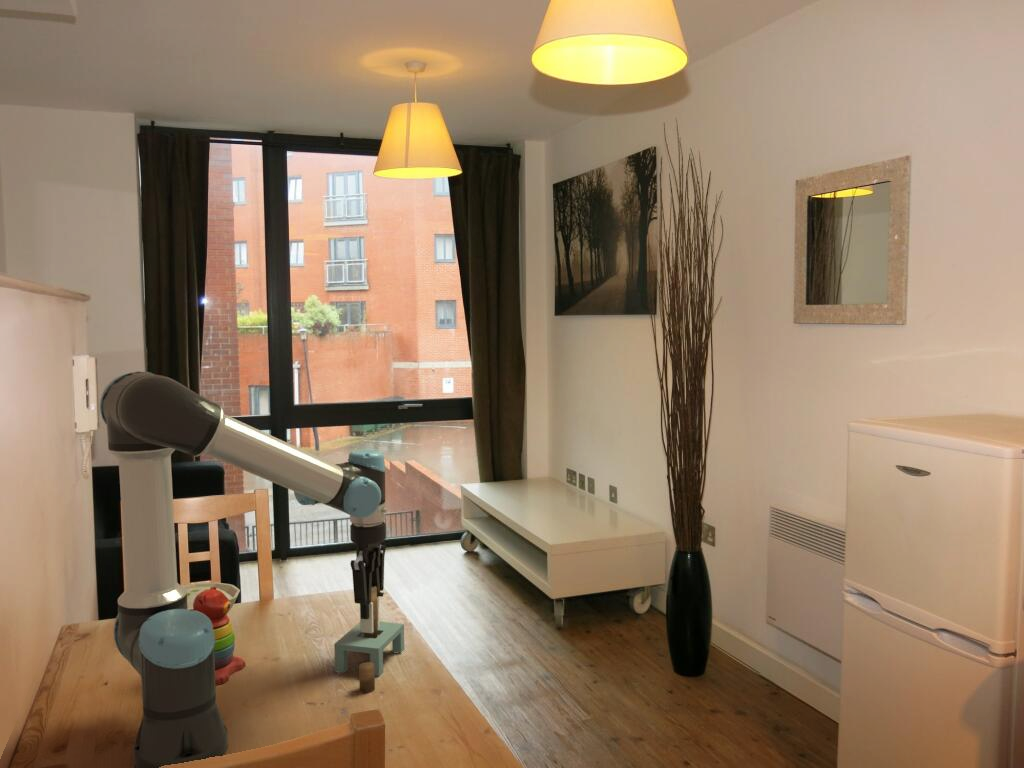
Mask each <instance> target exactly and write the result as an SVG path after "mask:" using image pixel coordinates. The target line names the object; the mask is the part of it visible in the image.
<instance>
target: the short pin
mask: <svg viewBox="0 0 1024 768" xmlns="http://www.w3.org/2000/svg"><path fill="white" fill-rule="evenodd" d="M358 666H359V667H358V668H359V670H358V671H359V677H358V678H359V679H358V681H359V692H361V693H363V694H369V693H372V692H374V691H375V690H376V682H375V681H376V679H375V678H376V676H375V668H374V663H371V662H370V661H369V662H368V661H367V662H365V661H364V662H362V663H360V664H359V665H358Z"/></svg>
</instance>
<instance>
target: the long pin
mask: <svg viewBox="0 0 1024 768" xmlns="http://www.w3.org/2000/svg"><path fill="white" fill-rule="evenodd" d="M371 602H373V628H374V632H373V633H364V637H365V638H375V639H376V638H377V637H378V622H377V587H376V586H371ZM366 654H367V655H368V654H369V655H370V653H366Z"/></svg>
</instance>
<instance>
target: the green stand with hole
mask: <svg viewBox="0 0 1024 768" xmlns="http://www.w3.org/2000/svg"><path fill="white" fill-rule="evenodd" d="M379 623H380V627H379V628H378V637H377V638H376V639H375V638H365V637H364V632H360V621H359V622H358V623H357V624H356V625H355V626H354V627H352V628H351V629H350V630H348V632H347V633H345V634H344V635H343V636H342V637H341V638H339V640H337V641H336V642H335V643H334V645H333V646H334V650H333V651H334V672H335V673H336V672H337V673H345V672H346V671H348V669H349V659H348V658H349V657H348V656H349V655H348V654H349V653H348V652H355V653H363V654H364V653H365V654H367V653H370V654H369V662H371V663H374V668H375V677H378V676H379V677H380V676H382V674H383V673H384V658H383V657H384V652H383V651H384V650H385V649H386V648H387V647H388V646H389V645H390V644H391V643H392V644H391V645H392V647H391V648H392V653H393V652H398V653H397V654H400V653H401V652H402V651H403V650H404V651H405V624H404V623H399V622H397V623H396V622H390V621H389V622H387V621H379ZM404 651H403V652H404ZM403 652H402V653H403ZM402 653H401V654H402Z"/></svg>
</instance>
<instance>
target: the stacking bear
mask: <svg viewBox="0 0 1024 768" xmlns="http://www.w3.org/2000/svg"><path fill="white" fill-rule="evenodd" d="M230 606H231V604H230V601H229V599H228V598H227V597H226V596H225V595H224V594H223V593H222V592H221V591H219V590H216V587H211V588H210V590H206V591H203V592H201V593H199V594H198V595H197V596H196V598H195V600H194V602H193V609H194V611H199V612H201V613H203V614H205V615H206V616H207V617H208V618H209V619H210V620H211V622H212V626H213V632H214V637H215V645H214V657H215V686H217V685H222V684H225V683H226V682H228V681H229V680H230V676H231V675H232V674H233V673H235V672H239V671H241V670H243V668H245V667H246V662H245V660H244V659H243V658H242V657H238V656H234V651H235V642H236V641H235V640H236V638H235V632H234V629H233V626H232V623H231V621H230V617H229V616H228V614H227V615H226V613H227V612H228V611H229V609H230ZM229 612H230V611H229ZM229 612H228V613H229Z"/></svg>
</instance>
